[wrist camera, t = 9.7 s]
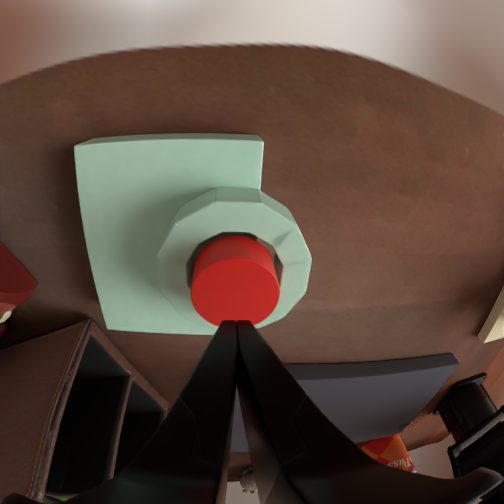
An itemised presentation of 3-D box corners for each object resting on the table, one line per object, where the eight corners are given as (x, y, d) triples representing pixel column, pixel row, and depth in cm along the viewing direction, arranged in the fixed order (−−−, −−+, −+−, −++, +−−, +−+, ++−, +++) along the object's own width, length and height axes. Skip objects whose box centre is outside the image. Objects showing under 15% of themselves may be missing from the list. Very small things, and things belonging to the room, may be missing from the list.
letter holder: (-25, 356, 19) (-73, 458, 7) (92, 313, 17) (21, 524, 5) (35, 415, 24) (7, 513, 11) (170, 400, 22) (160, 563, 9)
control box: (302, 138, 13) (329, 153, 10) (280, 309, 18) (292, 358, 15) (93, 138, 12) (52, 154, 9) (116, 305, 17) (97, 352, 14)
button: (277, 235, 12) (285, 258, 10) (269, 302, 13) (275, 329, 12) (193, 233, 11) (188, 256, 10) (195, 301, 13) (192, 328, 11)
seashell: (226, 471, 32) (225, 494, 28) (272, 452, 30) (274, 478, 26) (250, 481, 33) (250, 503, 29) (295, 462, 31) (298, 487, 27)
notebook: (452, 352, 23) (228, 361, 20) (459, 363, 22) (228, 379, 19) (395, 424, 29) (215, 438, 26) (399, 434, 27) (215, 451, 24)
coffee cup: (417, 424, 30) (453, 512, 17) (386, 452, 34) (412, 531, 21) (368, 433, 29) (401, 538, 16) (339, 460, 33) (361, 550, 20)
